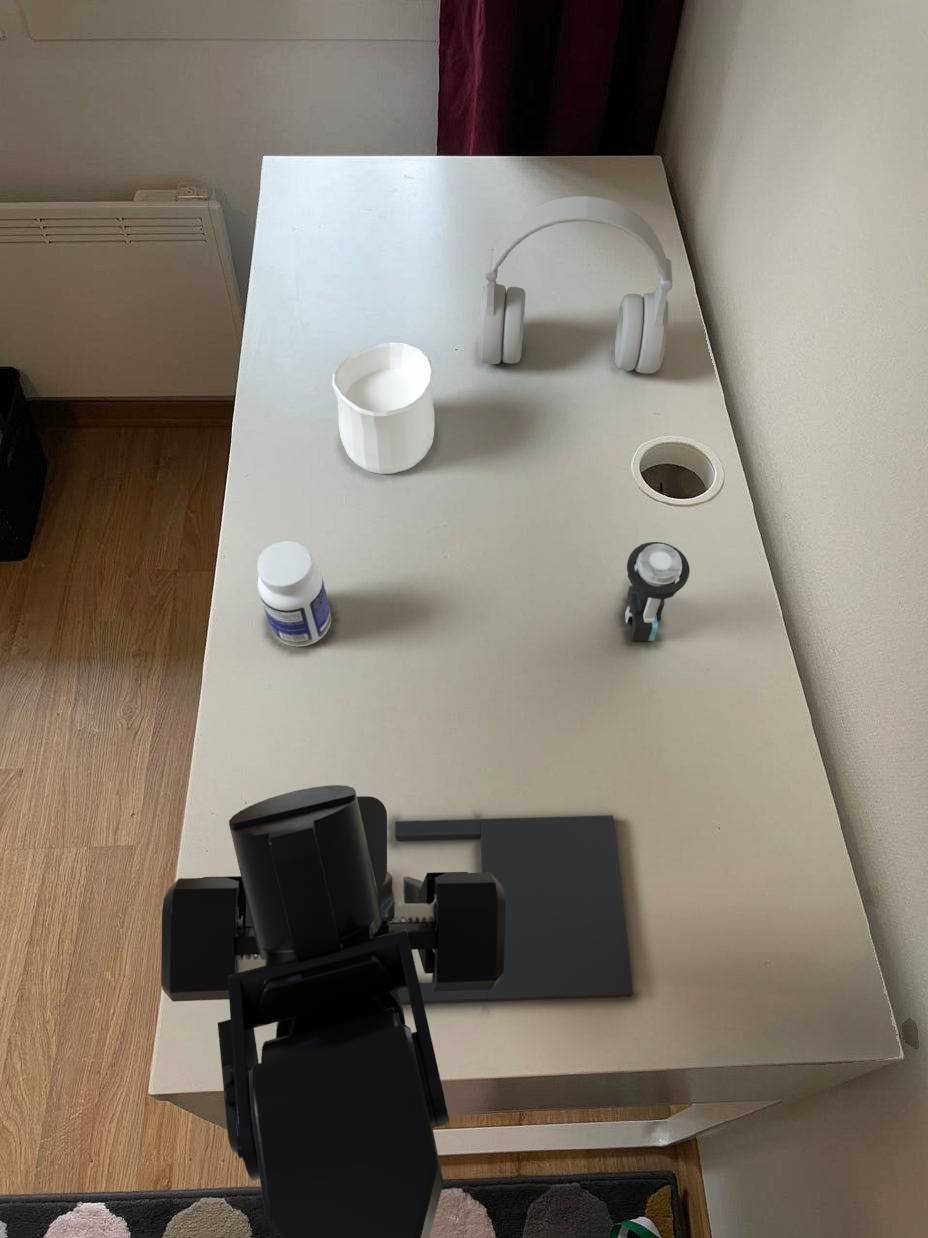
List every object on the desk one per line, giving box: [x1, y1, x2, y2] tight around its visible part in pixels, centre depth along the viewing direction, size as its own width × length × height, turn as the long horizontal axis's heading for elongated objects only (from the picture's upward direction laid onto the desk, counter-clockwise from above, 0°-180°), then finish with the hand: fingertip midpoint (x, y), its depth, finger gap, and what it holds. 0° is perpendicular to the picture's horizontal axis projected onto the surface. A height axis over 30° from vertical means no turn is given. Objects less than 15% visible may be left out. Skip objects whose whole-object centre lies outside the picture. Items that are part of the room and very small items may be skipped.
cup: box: [331, 341, 436, 475], centre depth 97 cm, size 10×10×10 cm
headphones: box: [477, 195, 673, 375], centre depth 100 cm, size 20×8×19 cm, turn 85°
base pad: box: [394, 814, 634, 1005], centre depth 76 cm, size 14×18×1 cm
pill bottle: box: [256, 540, 332, 647], centre depth 86 cm, size 6×6×10 cm
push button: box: [624, 541, 691, 642], centre depth 86 cm, size 7×5×10 cm
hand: (335, 886), depth 62 cm, fingers open, 9 cm apart
